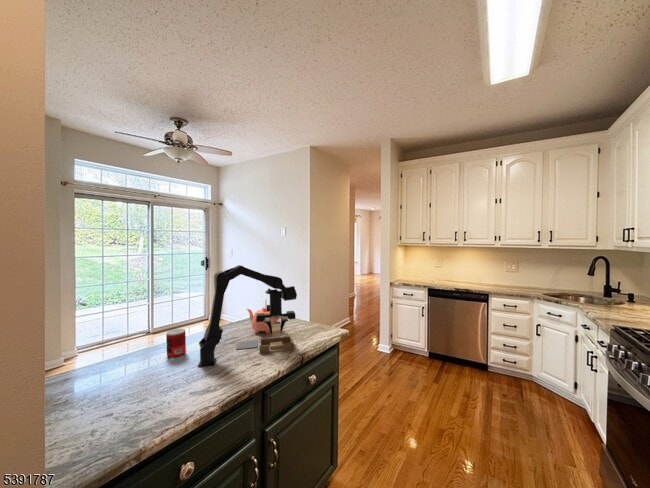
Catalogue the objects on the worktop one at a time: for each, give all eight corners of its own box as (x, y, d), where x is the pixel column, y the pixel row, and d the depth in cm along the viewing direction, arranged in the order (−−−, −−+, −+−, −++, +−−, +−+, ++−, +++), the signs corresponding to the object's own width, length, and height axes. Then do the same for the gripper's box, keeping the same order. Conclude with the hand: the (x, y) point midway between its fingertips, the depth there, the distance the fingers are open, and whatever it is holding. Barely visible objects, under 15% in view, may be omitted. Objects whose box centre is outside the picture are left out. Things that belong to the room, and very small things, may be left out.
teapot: (256, 337, 150) (256, 312, 150) (246, 329, 164) (245, 307, 164) (282, 331, 159) (282, 308, 159) (271, 324, 173) (270, 303, 173)
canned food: (189, 351, 131) (188, 328, 131) (178, 358, 123) (178, 334, 123) (174, 351, 132) (173, 328, 132) (163, 358, 124) (162, 334, 124)
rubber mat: (257, 347, 135) (257, 346, 135) (236, 349, 132) (236, 349, 132) (257, 340, 144) (257, 339, 144) (237, 342, 142) (237, 341, 142)
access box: (293, 349, 131) (293, 342, 131) (259, 353, 127) (259, 346, 127) (291, 342, 140) (291, 335, 140) (259, 345, 137) (259, 339, 137)
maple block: (280, 336, 132) (280, 323, 132) (272, 336, 131) (272, 324, 131) (280, 333, 136) (279, 321, 136) (271, 334, 135) (271, 322, 135)
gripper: (292, 297, 144) (293, 327, 144) (256, 300, 139) (256, 330, 139) (295, 302, 133) (295, 333, 133) (256, 304, 129) (256, 337, 129)
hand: (276, 333), depth 134 cm, fingers closed on maple block, 4 cm apart
